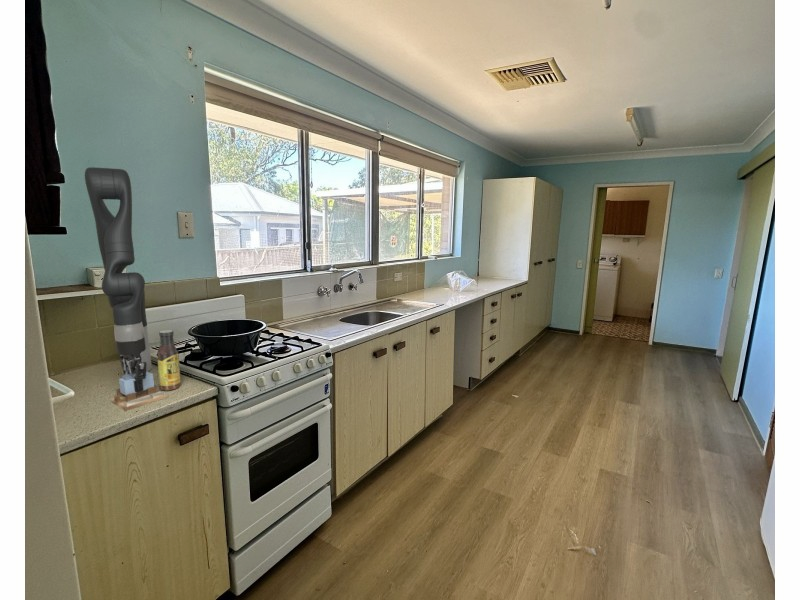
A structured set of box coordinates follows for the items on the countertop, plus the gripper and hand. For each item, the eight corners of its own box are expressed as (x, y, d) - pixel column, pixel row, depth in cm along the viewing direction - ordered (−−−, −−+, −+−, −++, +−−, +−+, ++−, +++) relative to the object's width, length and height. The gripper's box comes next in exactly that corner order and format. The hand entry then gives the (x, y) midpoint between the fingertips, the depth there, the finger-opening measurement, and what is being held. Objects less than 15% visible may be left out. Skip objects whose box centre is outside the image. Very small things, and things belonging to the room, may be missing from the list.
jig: (110, 401, 121) (109, 390, 121) (150, 389, 131) (149, 379, 130) (125, 411, 115) (123, 400, 115) (166, 397, 125) (165, 387, 124)
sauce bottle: (171, 392, 128) (165, 334, 125) (155, 390, 130) (149, 333, 126) (185, 384, 135) (180, 329, 131) (170, 383, 136) (164, 328, 132)
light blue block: (120, 392, 121) (118, 375, 120) (148, 384, 128) (146, 368, 127) (125, 395, 119) (123, 378, 118) (154, 387, 125) (152, 371, 124)
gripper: (106, 335, 121) (113, 387, 124) (125, 344, 113) (132, 399, 116) (133, 331, 127) (139, 380, 130) (153, 338, 119) (159, 391, 122)
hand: (136, 389), depth 123 cm, fingers closed on light blue block, 4 cm apart
